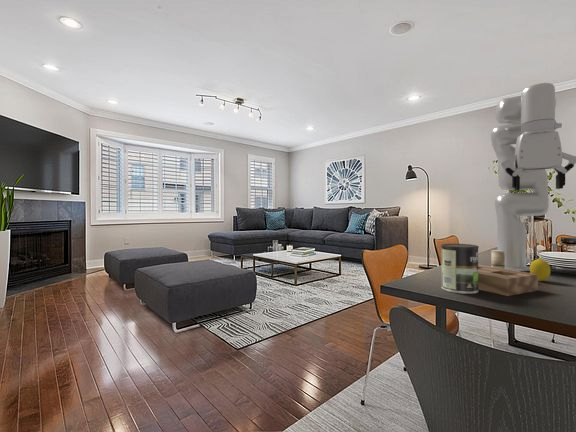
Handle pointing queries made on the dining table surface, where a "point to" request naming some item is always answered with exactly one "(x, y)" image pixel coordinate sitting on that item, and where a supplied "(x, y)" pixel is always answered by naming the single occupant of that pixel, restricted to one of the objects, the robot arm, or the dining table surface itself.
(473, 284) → the coffee can
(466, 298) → the dining table surface
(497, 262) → the dowel
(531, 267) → the lemon
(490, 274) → the mortise block
